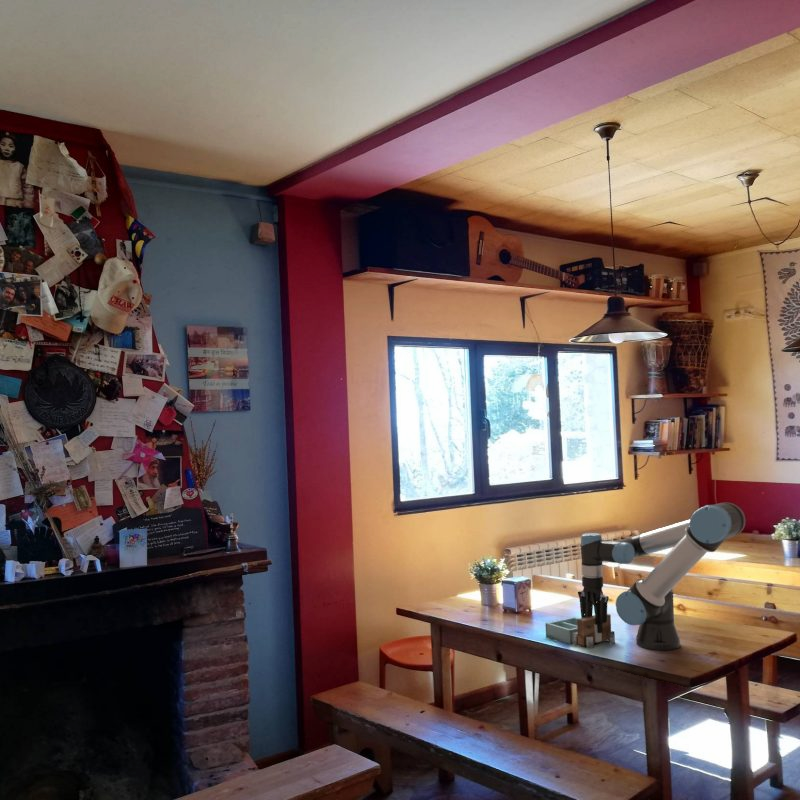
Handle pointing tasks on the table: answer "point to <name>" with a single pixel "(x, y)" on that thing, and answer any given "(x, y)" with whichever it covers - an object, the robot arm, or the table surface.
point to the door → (591, 629)
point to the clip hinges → (590, 639)
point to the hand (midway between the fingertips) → (594, 640)
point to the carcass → (562, 629)
